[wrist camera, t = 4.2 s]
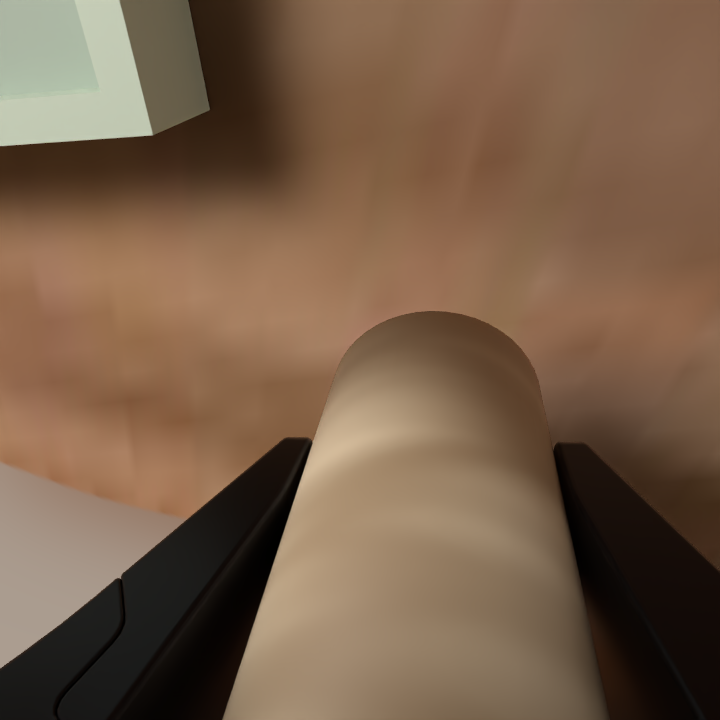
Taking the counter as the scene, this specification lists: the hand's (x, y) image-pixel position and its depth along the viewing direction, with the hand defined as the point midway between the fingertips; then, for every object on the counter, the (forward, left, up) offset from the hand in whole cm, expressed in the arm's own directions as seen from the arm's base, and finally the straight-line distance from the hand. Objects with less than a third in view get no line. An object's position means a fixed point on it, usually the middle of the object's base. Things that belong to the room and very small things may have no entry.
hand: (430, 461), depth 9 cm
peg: (0, 0, -2) cm, 2 cm away
